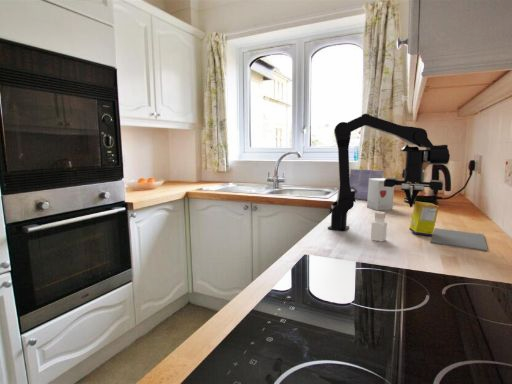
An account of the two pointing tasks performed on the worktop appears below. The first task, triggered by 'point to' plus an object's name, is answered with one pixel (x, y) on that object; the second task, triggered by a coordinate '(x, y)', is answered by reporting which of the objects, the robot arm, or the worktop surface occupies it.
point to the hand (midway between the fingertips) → (411, 207)
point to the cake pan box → (362, 181)
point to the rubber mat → (459, 239)
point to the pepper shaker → (379, 227)
